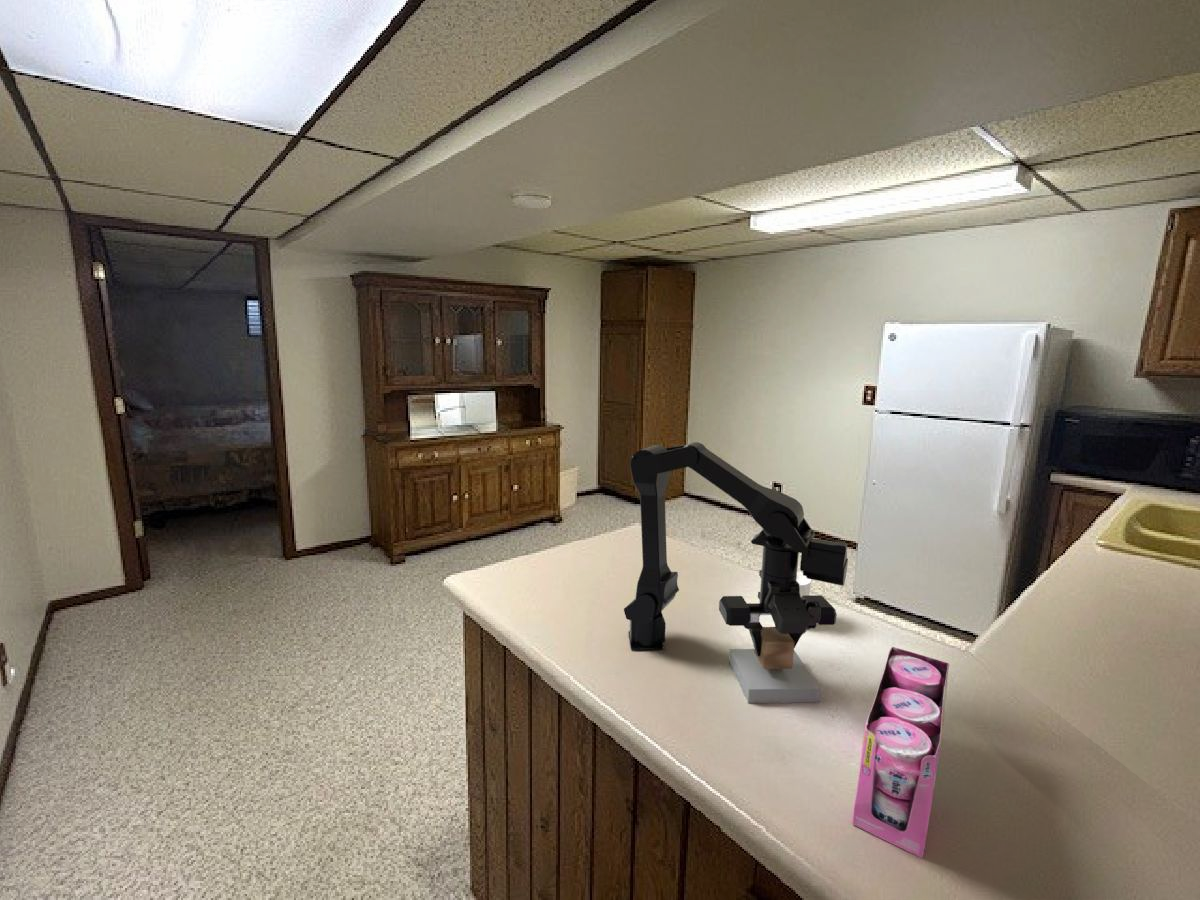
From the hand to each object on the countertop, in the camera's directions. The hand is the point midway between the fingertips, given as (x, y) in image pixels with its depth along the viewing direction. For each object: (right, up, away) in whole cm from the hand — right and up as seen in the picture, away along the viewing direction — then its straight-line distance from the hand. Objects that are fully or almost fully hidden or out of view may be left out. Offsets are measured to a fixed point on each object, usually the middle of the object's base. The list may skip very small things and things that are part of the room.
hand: (773, 654), depth 93 cm
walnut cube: (0, -1, 0) cm, 1 cm away
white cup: (+11, -1, +22) cm, 24 cm away
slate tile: (0, -5, +1) cm, 5 cm away
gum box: (+10, -9, -21) cm, 25 cm away
